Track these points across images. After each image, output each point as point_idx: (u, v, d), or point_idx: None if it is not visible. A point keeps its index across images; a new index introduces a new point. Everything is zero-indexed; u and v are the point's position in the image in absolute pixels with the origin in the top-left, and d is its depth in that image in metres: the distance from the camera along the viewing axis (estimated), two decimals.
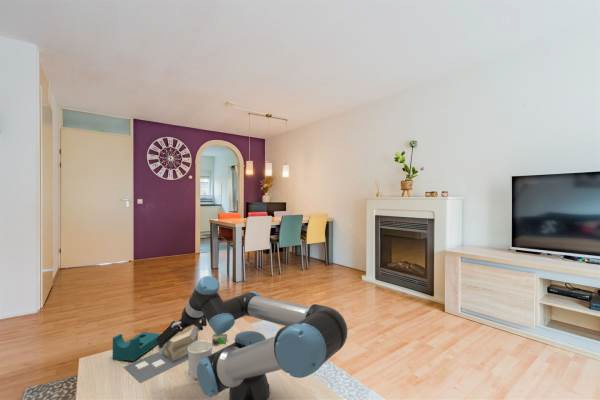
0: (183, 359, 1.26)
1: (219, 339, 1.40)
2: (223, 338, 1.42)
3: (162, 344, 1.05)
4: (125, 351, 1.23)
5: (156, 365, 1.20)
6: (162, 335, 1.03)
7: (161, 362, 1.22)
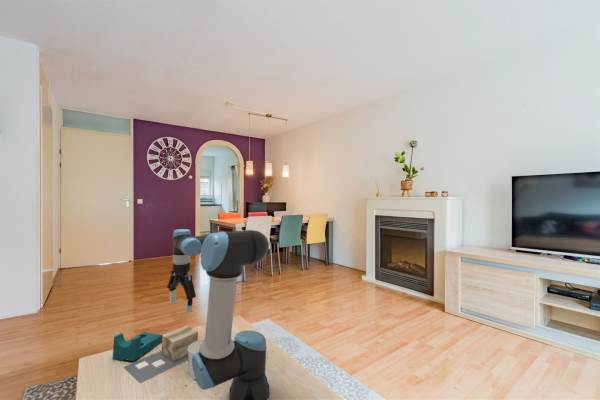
0: (183, 359, 1.26)
1: None
2: None
3: None
4: (125, 350, 1.24)
5: (156, 365, 1.20)
6: None
7: (161, 362, 1.22)
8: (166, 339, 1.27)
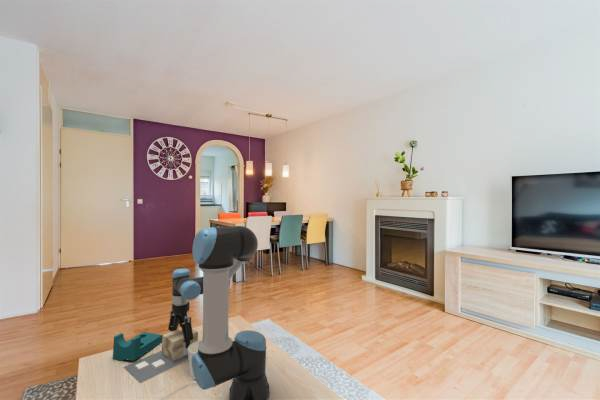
0: (183, 359, 1.26)
1: None
2: None
3: None
4: (125, 350, 1.24)
5: (156, 365, 1.20)
6: None
7: (161, 362, 1.22)
8: (166, 339, 1.27)
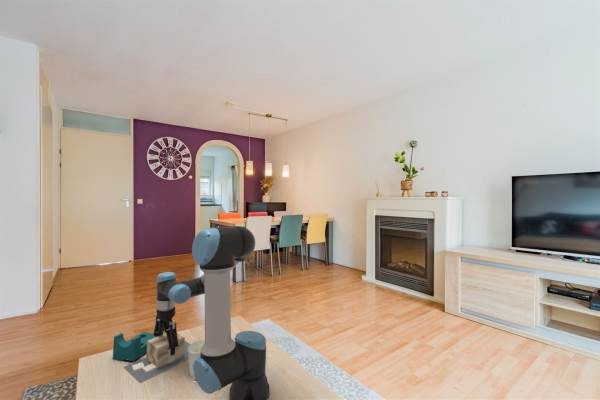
0: (183, 359, 1.26)
1: None
2: None
3: None
4: (125, 350, 1.24)
5: (147, 370, 1.17)
6: None
7: (152, 366, 1.19)
8: (151, 345, 1.22)
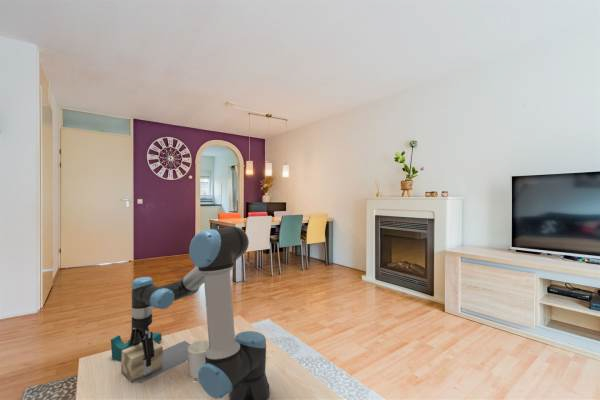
0: (183, 359, 1.26)
1: None
2: None
3: None
4: None
5: None
6: None
7: None
8: (125, 355, 1.14)
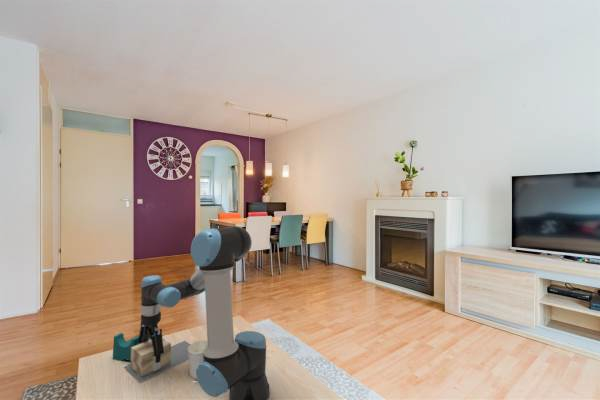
0: (183, 359, 1.26)
1: None
2: None
3: None
4: (125, 350, 1.24)
5: None
6: None
7: None
8: (135, 352, 1.16)
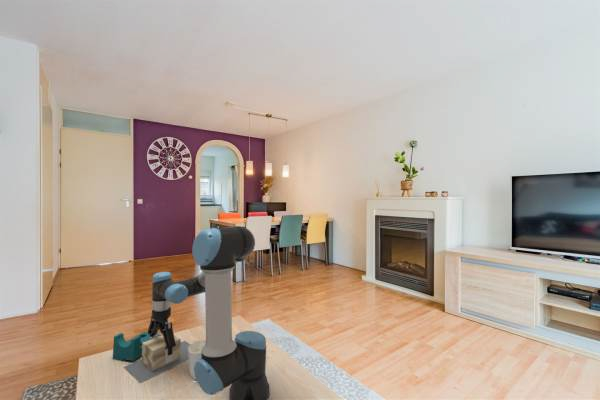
0: (183, 359, 1.26)
1: None
2: None
3: None
4: (125, 350, 1.24)
5: None
6: None
7: None
8: (146, 347, 1.20)
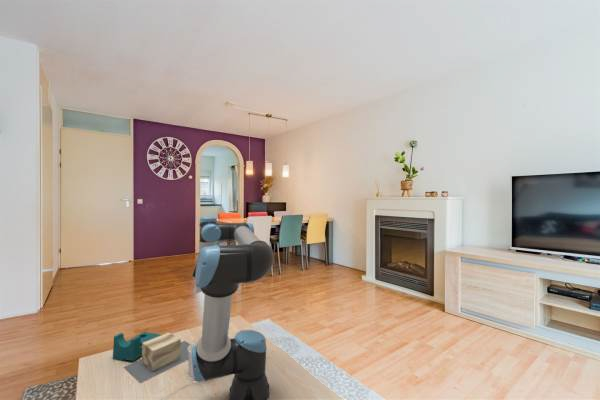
0: (183, 359, 1.26)
1: None
2: None
3: None
4: (125, 350, 1.24)
5: None
6: None
7: None
8: (146, 347, 1.20)
